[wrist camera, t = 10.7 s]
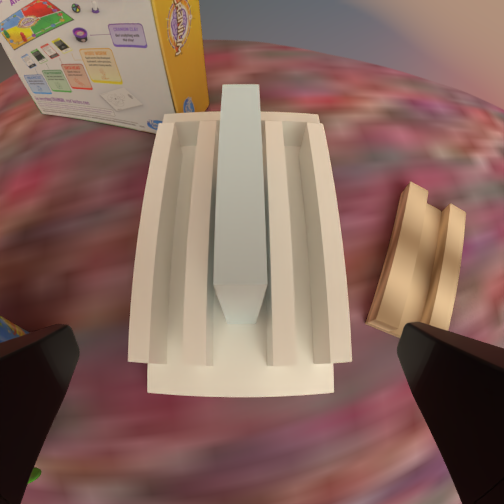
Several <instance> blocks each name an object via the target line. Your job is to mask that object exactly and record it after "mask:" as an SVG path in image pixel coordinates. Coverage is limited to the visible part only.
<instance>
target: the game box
mask: <svg viewBox="0 0 504 504" xmlns="http://www.w3.org/2000/svg"><path fill="white" fill-rule="evenodd" d="M0 42H1V44H2V46H3V48H4V50H5V51H6V53H7V55H8V57H9V59H10V61H11V62H12V64H13V66H14V68H15V70H16V72H17V73H18V75H19V77H20V78H21V80H22V82H23V84H24V85H25V87H26V89H27V90H28V92H29V94H30V95H31V97H32V99H33V100H34V102H35V104H36V105H37V107H38V109H39V110H40V112H41V113H42V114H49V115H56V116H63V117H69V118H75V119H81V120H87V121H93V122H98V123H103V124H109V125H114V126H119V127H124V128H129V129H134V130H139V131H145V132H149V133H154V134H156V133H157V129H158V124H159V123H162V122H163V117H164V114H173V113H190V112H205V110H206V109H207V107H208V105H209V97H208V88H207V80H206V71H205V61H204V51H203V41H202V29H201V21H200V9H199V0H0Z"/></svg>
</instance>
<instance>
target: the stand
mask: <svg viewBox="0 0 504 504" xmlns="http://www.w3.org/2000/svg"><path fill="white" fill-rule="evenodd" d="M427 197H428V191H427V190H425V189H424V188H422V187H420V186H418V185H416V184H414V183H412V182H410V183H409V184H408V185H407V187H406V188H405V189H404V190H403V192H402V193H401V196H400V200H399V205H398V210H397V214H396V218H395V223H394V227H393V231H392V235H391V239H390V243H389V247H388V250H387V254H386V258H385V261H384V265H383V269H382V272H381V275H380V279H379V282H378V285H377V289H376V292H375V295H374V298H373V302H372V305H371V308H370V311H369V314H368V317H367V320H366V323H365V324H367V325H369V326H372V327H374V328H376V329H379V330H381V331H384V332H386V333H388V334H391V335H393V336H396V337H398V338H400V337H401V334H402V331H403V328H404V326H405V324H407V323H409V322H422V323H425V324H428V325H431V326H434V327H437V328H440V329H444V330H447V331H448V328H449V324H450V320H451V315H452V311H453V306H454V301H455V295H456V290H457V284H458V278H459V272H460V265H461V257H462V249H463V240H464V230H465V217H466V212H464V211H462V210H461V209H459V208H457V207H456V206H454V205H452V204H449V205H448V206H447V207H446V208H445V209H444V210H443V211H440V210H439V209H437V208H435V207H433V206H431V205H429V204H428V203H427Z"/></svg>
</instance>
